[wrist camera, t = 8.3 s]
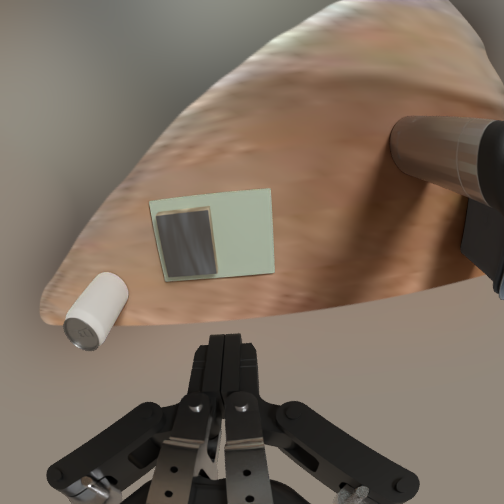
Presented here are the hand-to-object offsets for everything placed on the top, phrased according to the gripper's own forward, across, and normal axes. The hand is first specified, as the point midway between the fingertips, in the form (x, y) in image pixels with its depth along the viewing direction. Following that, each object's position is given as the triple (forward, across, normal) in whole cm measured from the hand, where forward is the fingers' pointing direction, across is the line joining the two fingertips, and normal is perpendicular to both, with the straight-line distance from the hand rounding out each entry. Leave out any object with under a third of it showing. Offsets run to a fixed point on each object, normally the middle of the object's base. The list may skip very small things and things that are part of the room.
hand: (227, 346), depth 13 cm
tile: (+23, +4, +4) cm, 24 cm away
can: (+24, +22, +10) cm, 34 cm away
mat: (+25, +4, +4) cm, 25 cm away
